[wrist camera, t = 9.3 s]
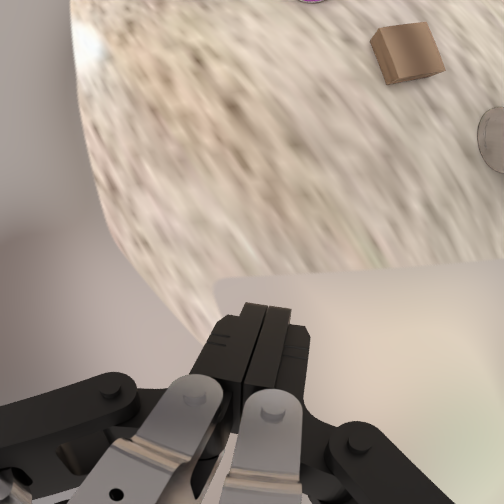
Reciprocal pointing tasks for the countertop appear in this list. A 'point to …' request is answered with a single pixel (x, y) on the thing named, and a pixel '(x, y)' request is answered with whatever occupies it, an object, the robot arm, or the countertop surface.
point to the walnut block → (406, 52)
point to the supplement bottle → (312, 1)
